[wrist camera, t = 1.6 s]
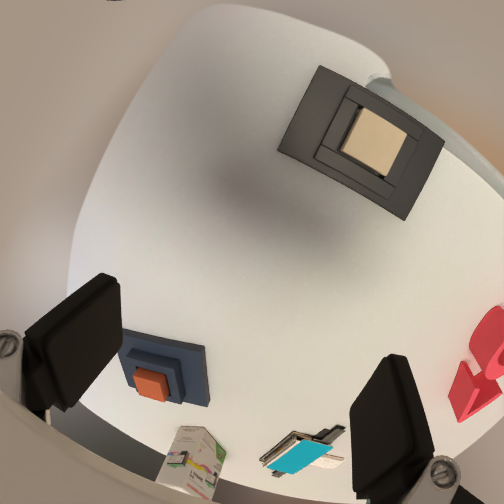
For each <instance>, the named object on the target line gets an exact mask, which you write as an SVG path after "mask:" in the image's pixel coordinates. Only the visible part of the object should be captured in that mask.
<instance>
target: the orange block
mask: <svg viewBox="0 0 504 504" xmlns="http://www.w3.org/2000/svg"><path fill="white" fill-rule="evenodd" d="M133 378H134V381H135V384H136V387H137V390H138V393H139V395H141V396H144V397H148V398H151V399H154V400H158V401H161V402H165V401H166V399H167V397H168V396H169V394H170V391H169V387H168V383H167V379H166V375H165V374H163V373H159V372H155V371H152V370H148V369H144V368H141V367H138V369H137V370H136V372H135V373H134V375H133Z"/></svg>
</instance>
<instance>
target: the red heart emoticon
mask: <svg viewBox="0 0 504 504" xmlns="http://www.w3.org/2000/svg"><path fill="white" fill-rule="evenodd" d="M470 350H471V352H472V354H473V355H474V357H475V359H476V360H477V362H478V364H479V366H480V367H481V369H482V371H481V372H480V373H479V374H477V375H476V376H475V377H474V376H473V374H472V372H471V370H470V368H469V367H468V365H467V363H466V362H463V361H461V363H460V366H459V369H458V372H457V375H456V377H455V380H454V383H453V385H452V388H451V390H450V393H449V395H448V397H449V400H450V402H451V405H452V408H453V410H454V413H455V416H456V419H457V421H458V423H461V422H462V421H464V420H466V419H467V418H469V417H470V416H472V415H473V414H475V413H476V412H478V411H479V410H481V409H482V408H484V407H485V406H487V405H488V404H489V403H491V402H492V401H494V400H495V399H496V398H498V397H499V396H500V395H502V394H503V393H502V391H501V389H500V387H499V385H498V383H497V381H496V380H495V379H497V378H499V377H501V376H502V375H504V310H503V309H502V308H501V307H500V306H496V307H494V308H492V309H491V310H490V311H489V312H488V313H487V314H486V315H485V317H484V318H483V319H482V321H481V322H480V323H479V325H478V327H477V328H476V330H475V331H474V333H473V335H472V338H471V340H470Z"/></svg>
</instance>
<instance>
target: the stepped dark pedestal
mask: <svg viewBox="0 0 504 504" xmlns="http://www.w3.org/2000/svg"><path fill="white" fill-rule="evenodd" d="M363 108H366V109H368V110H370V111H371V112H373V113H375V114H377V115H378V116H380V117H382V118H383V119H385V120H386V121H388V122H390V123H391V124H393V125H394V126H396V127H397V128H399V129H401V130H402V131H404V132H405V133H406V134H407V136H406V138H405V140H404V142H403V144H402V146H401V148H400V150H399V152H398V154H397V156H396V158H395V160H394V162H393V164H392V166H391V168H390V170H389V172H388V174H387V176H384V175H381V174H379V173H378V172H376V171H374V170H373V169H371V168H369V167H368V166H366V165H364V164H363V163H361V162H359V161H357V160H356V159H354V158H352V157H350V156H349V155H347V154H345V153H343V152H341V151H340V149H341V147H342V145H343V143H344V141H345V139H346V137H347V135H348V133H349V131H350V129H351V127H352V125H353V123H354V121H355V119H356V117H357V115H358V113H359V111H360V110H361V109H363ZM444 143H445V141H444V140H443V139H442V138H440V137H439V136H438V135H436V134H435V133H434V132H432V131H431V130H430V129H428V128H427V127H426V126H424V125H423V124H421V123H420V122H419V121H417V120H416V119H414V118H413V117H411V116H410V115H408V114H407V113H405V112H404V111H402V110H401V109H399V108H398V107H396V106H395V105H393V104H391V103H390V102H388V101H387V100H385V99H383V98H382V97H380V96H378V95H377V94H375V93H373V92H371V91H370V90H368V89H366V88H364V87H362V86H361V85H359V84H357V83H355V82H353V81H351V80H349V79H347V78H345V77H344V76H342V75H340V74H338V73H335V72H333V71H331V70H329V69H327V68H325V67H323V66H321V65H319V67H318V69H317V71H316V72H315V74H314V76H313V78H312V80H311V82H310V84H309V86H308V88H307V90H306V92H305V94H304V96H303V98H302V100H301V102H300V104H299V106H298V108H297V110H296V112H295V114H294V116H293V118H292V120H291V123H290V125H289V127H288V129H287V131H286V133H285V135H284V137H283V139H282V141H281V143H280V145H279V147H278V149H277V150H278V151H279V152H281V153H283V154H285V155H287V156H290V157H292V158H294V159H296V160H298V161H300V162H302V163H304V164H306V165H308V166H310V167H311V168H313V169H315V170H317V171H319V172H321V173H323V174H325V175H327V176H329V177H330V178H332V179H334V180H336V181H338V182H340V183H341V184H343V185H345V186H347V187H349V188H350V189H352V190H354V191H356V192H357V193H359V194H361V195H362V196H364V197H366V198H368V199H369V200H371V201H373V202H374V203H376V204H378V205H379V206H381V207H383V208H384V209H386V210H387V211H389V212H391V213H392V214H394V215H395V216H397V217H399V218H400V219H402V220H403V221H405V219H406V218H407V216H408V214H409V212H410V211H411V209H412V207H413V205H414V203H415V201H416V200H417V198H418V196H419V194H420V192H421V190H422V188H423V186H424V184H425V183H426V181H427V179H428V177H429V175H430V173H431V171H432V169H433V167H434V164H435V162H436V160H437V158H438V156H439V154H440V152H441V150H442V147H443V145H444Z"/></svg>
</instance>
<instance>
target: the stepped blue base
mask: <svg viewBox="0 0 504 504" xmlns="http://www.w3.org/2000/svg"><path fill="white" fill-rule="evenodd" d="M122 333H123V344H122V346H121V348H120V350H119V351H118V356H119V359H120V362H121V365H122V368H123V371H124V374H125V377H126V380H127V383H128V385H129V386H130V387H133V388H136V391H137V392H138V390H137V387H136V384H135V381H134V378H133V375H134V373H135V372H136V370H137V369H138V367H141V368H144V369H148V370H152V371H155V372H159V373H163V374H165V375H166V379H167V383H168V387H169V391H170V394H169V396H168V397H167V399H166V401H170V402H174V403H177V404H182V402H187V403H191V404H195V405H200V406H204V407H208V404H209V402H210V398H209V389H208V380H207V371H206V360H205V350H204V346H201V345H195V344H190V343H185V342H179V341H175V340H170V339H165V338H160V337H156V336H151V335H147V334H143V333H138V332H134V331H130V330H126V329H122Z"/></svg>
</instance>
